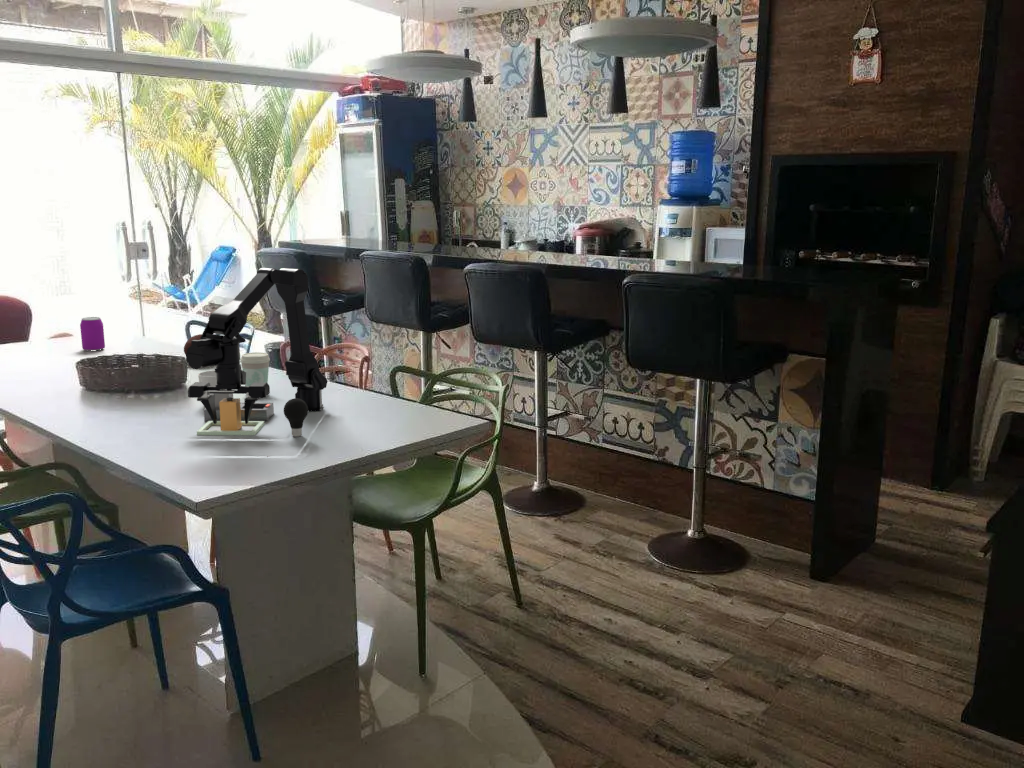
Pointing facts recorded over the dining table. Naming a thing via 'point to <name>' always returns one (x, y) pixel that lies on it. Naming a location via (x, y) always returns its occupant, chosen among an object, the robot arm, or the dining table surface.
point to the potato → (188, 343)
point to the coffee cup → (255, 367)
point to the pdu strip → (257, 414)
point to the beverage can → (92, 333)
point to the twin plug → (221, 398)
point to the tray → (204, 431)
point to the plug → (230, 414)
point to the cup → (208, 377)
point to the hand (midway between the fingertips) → (231, 423)
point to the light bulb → (296, 415)
